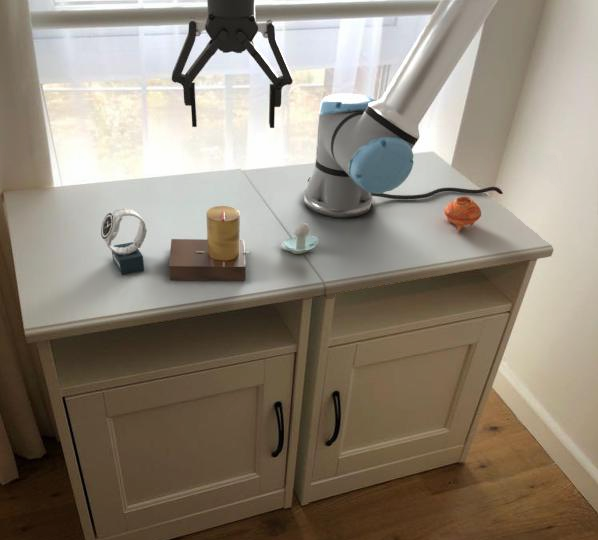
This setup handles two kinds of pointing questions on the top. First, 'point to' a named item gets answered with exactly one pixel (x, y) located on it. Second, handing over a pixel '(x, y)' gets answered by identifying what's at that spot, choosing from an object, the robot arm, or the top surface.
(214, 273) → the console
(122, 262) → the watch
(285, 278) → the top surface
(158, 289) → the top surface
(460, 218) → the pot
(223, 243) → the dial
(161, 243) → the top surface
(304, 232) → the pacifier
